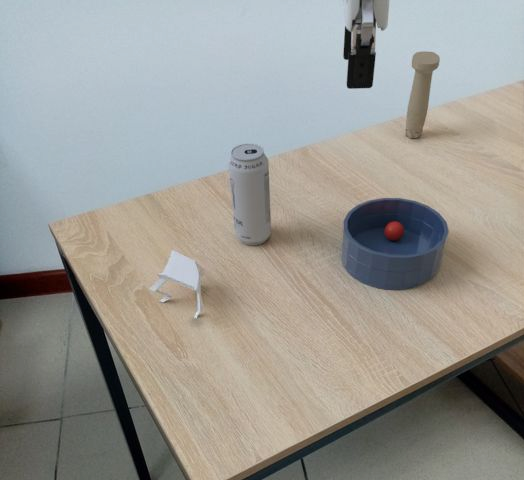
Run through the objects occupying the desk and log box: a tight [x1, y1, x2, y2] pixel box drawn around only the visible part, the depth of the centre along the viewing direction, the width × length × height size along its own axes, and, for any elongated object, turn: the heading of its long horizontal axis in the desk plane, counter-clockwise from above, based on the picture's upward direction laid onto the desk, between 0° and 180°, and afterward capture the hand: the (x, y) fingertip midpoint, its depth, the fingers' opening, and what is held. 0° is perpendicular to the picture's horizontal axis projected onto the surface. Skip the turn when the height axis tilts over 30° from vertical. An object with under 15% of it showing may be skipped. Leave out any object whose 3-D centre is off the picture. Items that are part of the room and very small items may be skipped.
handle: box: [405, 50, 441, 139], centre depth 104 cm, size 5×6×15 cm
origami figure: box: [148, 248, 205, 319], centre depth 77 cm, size 12×8×5 cm
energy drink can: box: [227, 143, 272, 246], centre depth 83 cm, size 6×6×15 cm
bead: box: [385, 222, 404, 241], centre depth 84 cm, size 3×3×3 cm
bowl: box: [340, 197, 450, 291], centre depth 81 cm, size 15×15×6 cm
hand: (356, 72), depth 70 cm, fingers open, 9 cm apart
